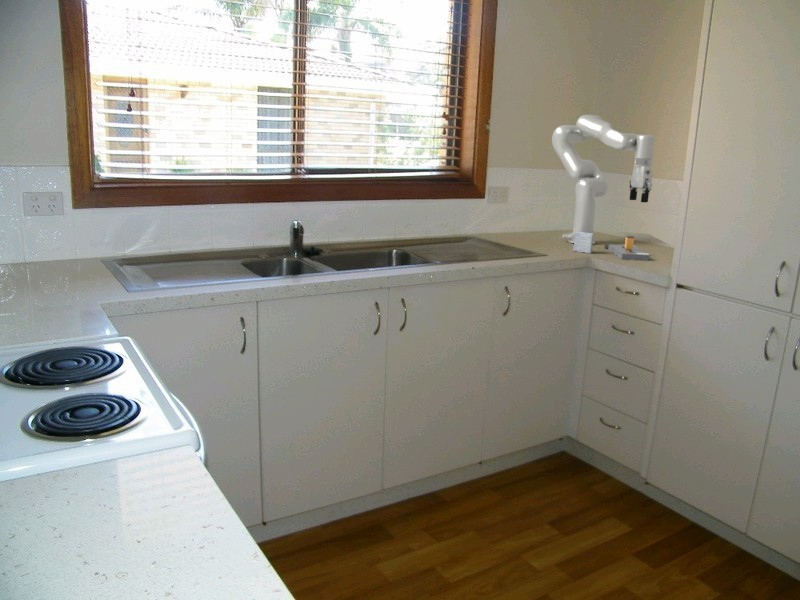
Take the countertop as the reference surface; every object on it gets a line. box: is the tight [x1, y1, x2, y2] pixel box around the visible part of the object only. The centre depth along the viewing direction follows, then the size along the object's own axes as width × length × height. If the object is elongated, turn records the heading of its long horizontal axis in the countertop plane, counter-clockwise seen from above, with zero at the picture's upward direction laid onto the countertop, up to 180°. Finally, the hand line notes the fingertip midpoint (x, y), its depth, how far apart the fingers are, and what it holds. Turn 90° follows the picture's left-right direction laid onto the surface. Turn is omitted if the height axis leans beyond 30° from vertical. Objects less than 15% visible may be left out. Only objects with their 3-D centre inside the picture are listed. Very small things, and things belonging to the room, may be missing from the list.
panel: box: [607, 244, 651, 261], centre depth 318 cm, size 12×24×3 cm, turn 178°
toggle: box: [624, 235, 635, 252], centre depth 317 cm, size 3×2×8 cm
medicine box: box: [572, 232, 595, 254], centre depth 319 cm, size 8×4×9 cm, turn 65°
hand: (638, 201), depth 319 cm, fingers open, 9 cm apart
